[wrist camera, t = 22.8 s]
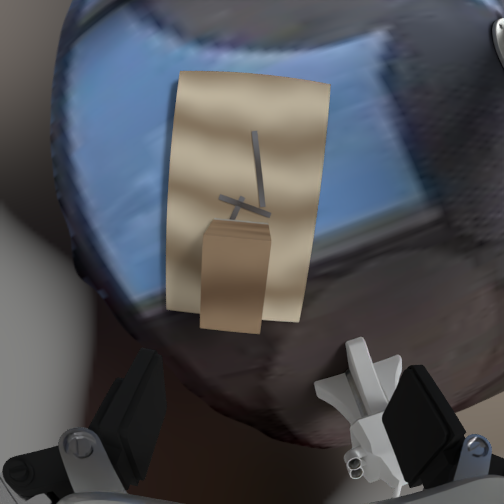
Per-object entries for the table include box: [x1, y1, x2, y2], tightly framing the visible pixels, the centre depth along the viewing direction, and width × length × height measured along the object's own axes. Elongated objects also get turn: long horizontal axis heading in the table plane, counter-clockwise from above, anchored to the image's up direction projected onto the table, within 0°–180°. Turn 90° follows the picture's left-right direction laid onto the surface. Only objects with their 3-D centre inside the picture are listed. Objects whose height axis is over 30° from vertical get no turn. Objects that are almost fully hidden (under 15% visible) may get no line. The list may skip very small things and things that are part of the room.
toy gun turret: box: [314, 337, 408, 499], centre depth 27 cm, size 12×13×18 cm
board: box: [166, 71, 331, 322], centre depth 28 cm, size 24×14×2 cm, turn 174°
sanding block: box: [200, 218, 272, 334], centre depth 26 cm, size 8×5×6 cm, turn 174°
